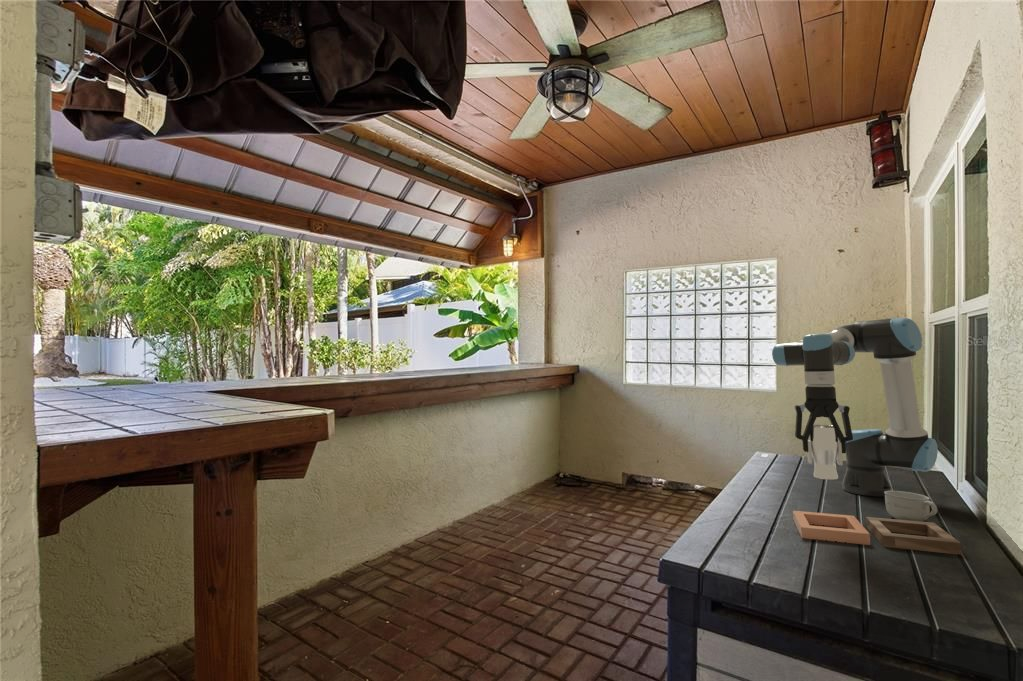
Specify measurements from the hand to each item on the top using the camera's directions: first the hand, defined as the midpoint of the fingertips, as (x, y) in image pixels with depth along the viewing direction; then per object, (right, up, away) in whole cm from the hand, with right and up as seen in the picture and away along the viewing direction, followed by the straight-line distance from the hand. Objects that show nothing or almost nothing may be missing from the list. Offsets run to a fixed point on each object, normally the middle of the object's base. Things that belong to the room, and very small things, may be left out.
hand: (824, 463), depth 138 cm
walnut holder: (+18, -19, -9) cm, 27 cm away
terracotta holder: (0, -20, -1) cm, 20 cm away
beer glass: (0, -4, 0) cm, 4 cm away
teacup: (+31, -20, +5) cm, 37 cm away
